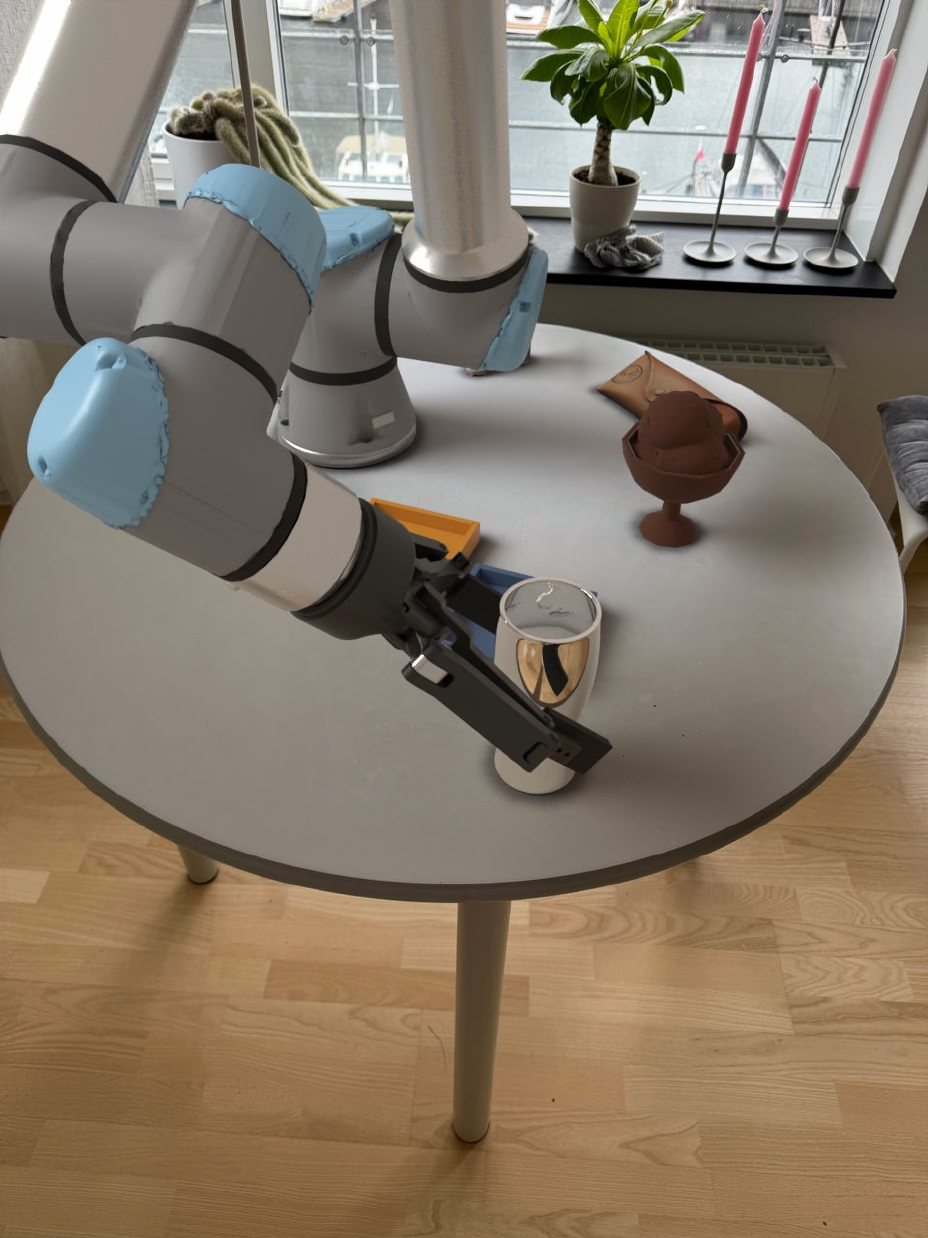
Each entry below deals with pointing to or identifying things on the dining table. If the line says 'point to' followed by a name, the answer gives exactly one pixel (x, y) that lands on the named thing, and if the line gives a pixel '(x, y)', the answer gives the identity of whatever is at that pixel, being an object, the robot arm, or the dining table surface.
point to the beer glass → (547, 661)
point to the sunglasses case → (664, 391)
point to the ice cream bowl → (679, 461)
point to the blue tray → (501, 583)
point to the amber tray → (435, 526)
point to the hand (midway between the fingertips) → (552, 686)
